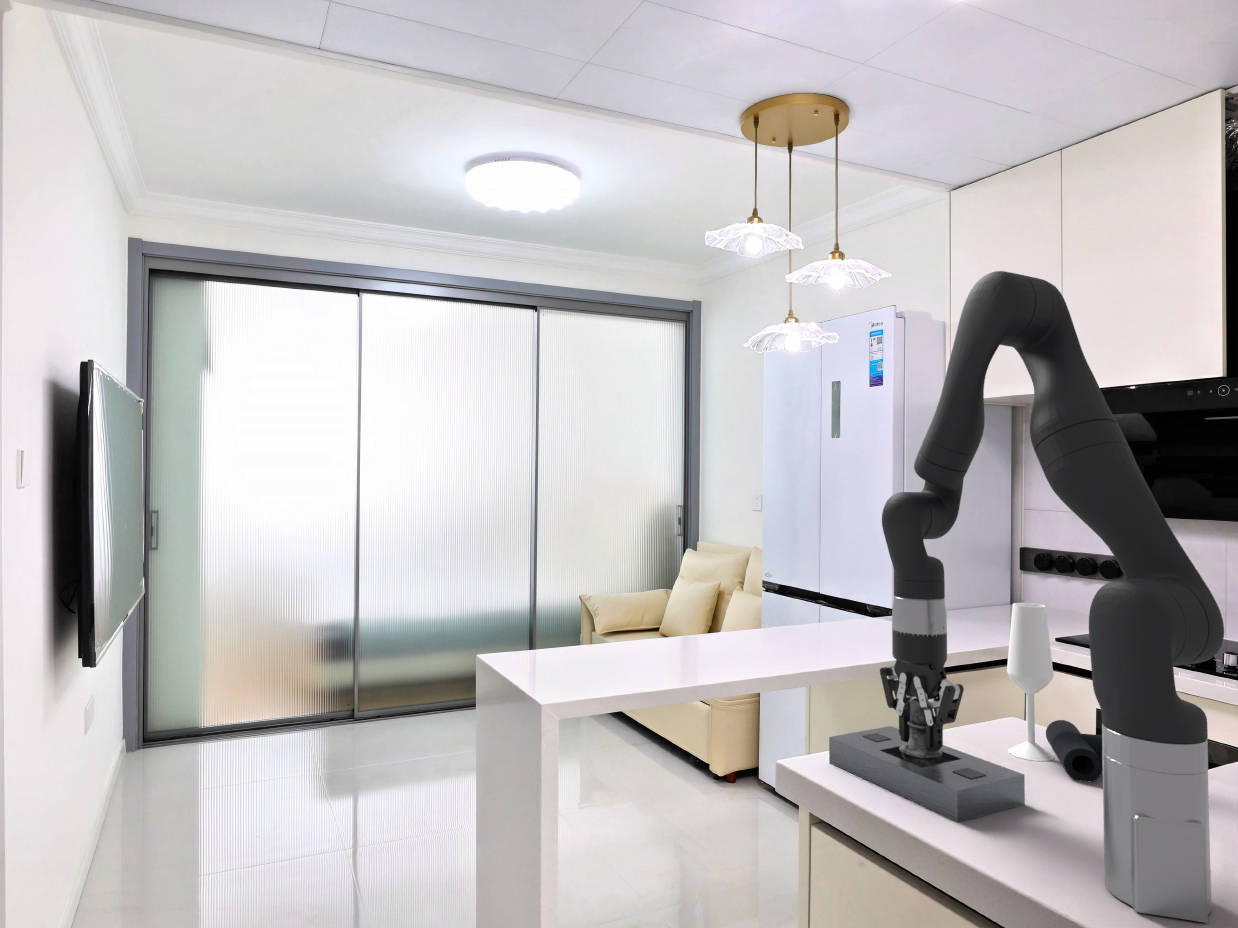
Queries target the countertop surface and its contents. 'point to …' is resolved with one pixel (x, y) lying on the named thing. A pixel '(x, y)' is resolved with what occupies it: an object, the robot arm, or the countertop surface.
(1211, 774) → the countertop surface
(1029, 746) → the champagne flute
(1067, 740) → the pipe connector
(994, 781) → the gray slotted block
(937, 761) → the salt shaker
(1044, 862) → the countertop surface
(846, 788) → the countertop surface
